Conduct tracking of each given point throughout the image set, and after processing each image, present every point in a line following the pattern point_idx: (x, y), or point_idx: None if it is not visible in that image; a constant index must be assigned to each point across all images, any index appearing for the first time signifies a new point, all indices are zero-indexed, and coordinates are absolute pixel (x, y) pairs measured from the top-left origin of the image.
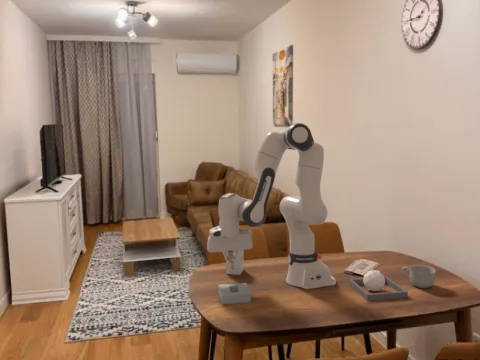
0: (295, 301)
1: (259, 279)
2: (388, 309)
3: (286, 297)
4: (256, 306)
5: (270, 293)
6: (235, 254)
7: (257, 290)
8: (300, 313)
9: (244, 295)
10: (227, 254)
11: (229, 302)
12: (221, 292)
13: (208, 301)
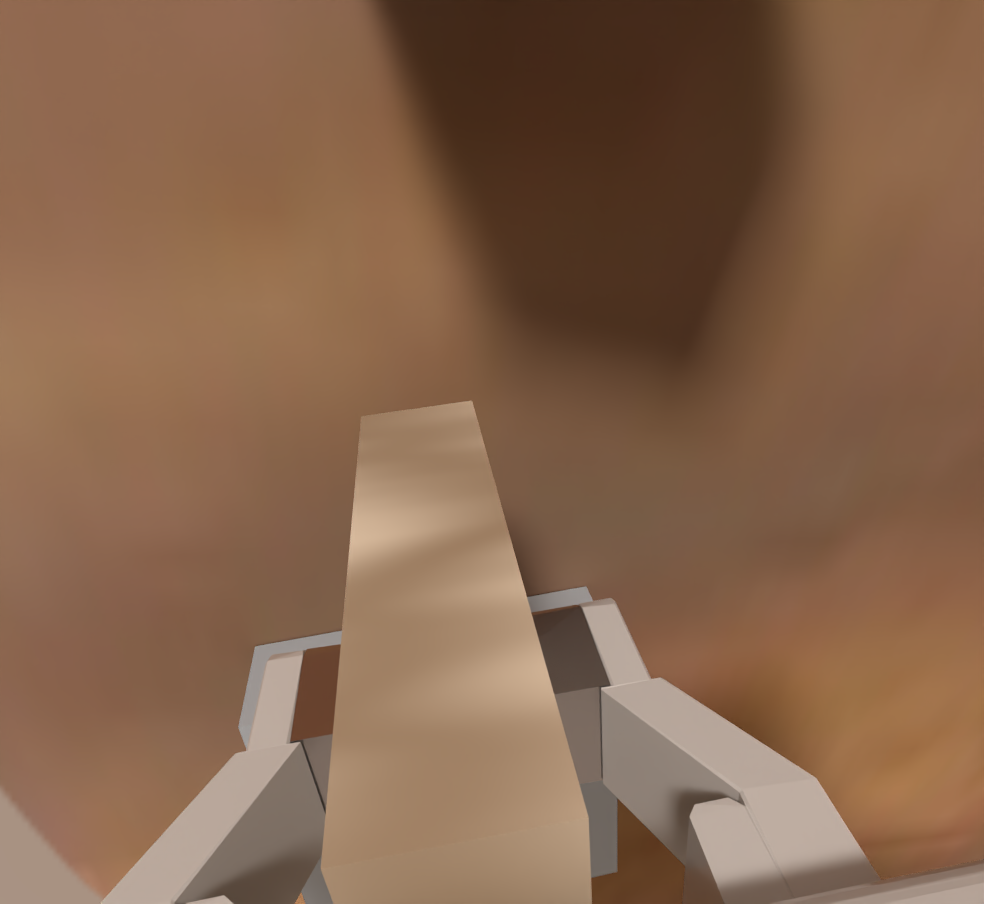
0: (939, 750)
1: (854, 220)
2: None
3: (911, 696)
4: (620, 846)
5: (815, 633)
6: (651, 824)
7: (713, 574)
8: None
9: None
10: (346, 642)
11: None
12: (309, 886)
13: None
